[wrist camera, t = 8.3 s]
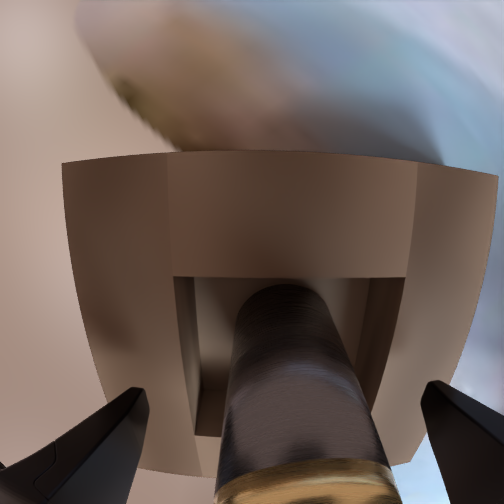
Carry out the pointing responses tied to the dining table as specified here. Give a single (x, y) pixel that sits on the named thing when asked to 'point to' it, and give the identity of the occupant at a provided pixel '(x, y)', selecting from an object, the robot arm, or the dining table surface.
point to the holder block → (272, 276)
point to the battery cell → (297, 411)
